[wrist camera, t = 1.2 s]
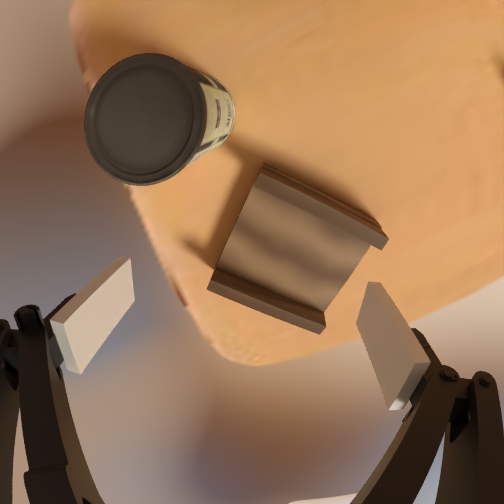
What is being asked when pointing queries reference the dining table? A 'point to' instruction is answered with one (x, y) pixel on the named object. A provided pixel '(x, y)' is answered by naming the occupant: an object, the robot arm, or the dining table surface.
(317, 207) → the stand
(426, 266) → the dining table surface
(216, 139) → the coffee can
